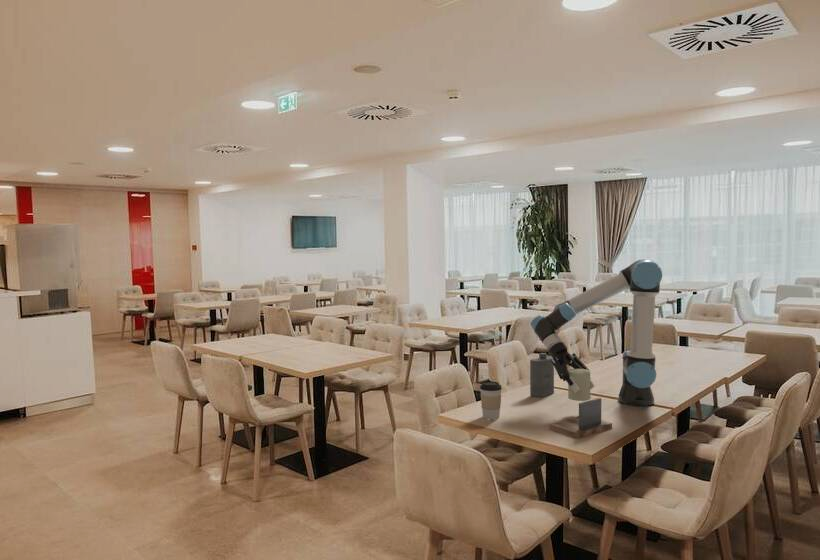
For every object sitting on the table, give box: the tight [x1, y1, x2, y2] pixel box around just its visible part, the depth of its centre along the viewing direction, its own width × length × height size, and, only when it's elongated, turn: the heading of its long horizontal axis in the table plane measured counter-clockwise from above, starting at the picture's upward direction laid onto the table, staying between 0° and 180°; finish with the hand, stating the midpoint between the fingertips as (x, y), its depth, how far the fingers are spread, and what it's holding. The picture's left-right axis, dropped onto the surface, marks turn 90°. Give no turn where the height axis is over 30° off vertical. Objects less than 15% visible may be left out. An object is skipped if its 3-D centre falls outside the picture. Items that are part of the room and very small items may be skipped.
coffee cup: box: [479, 380, 503, 420], centre depth 242 cm, size 9×9×15 cm
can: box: [567, 368, 592, 402], centre depth 243 cm, size 9×9×12 cm
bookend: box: [578, 397, 606, 431], centre depth 221 cm, size 12×3×10 cm, turn 124°
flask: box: [529, 352, 555, 399], centre depth 276 cm, size 15×6×20 cm, turn 130°
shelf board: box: [549, 415, 613, 439], centre depth 226 cm, size 20×14×2 cm
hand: (585, 389), depth 241 cm, fingers closed on can, 9 cm apart
